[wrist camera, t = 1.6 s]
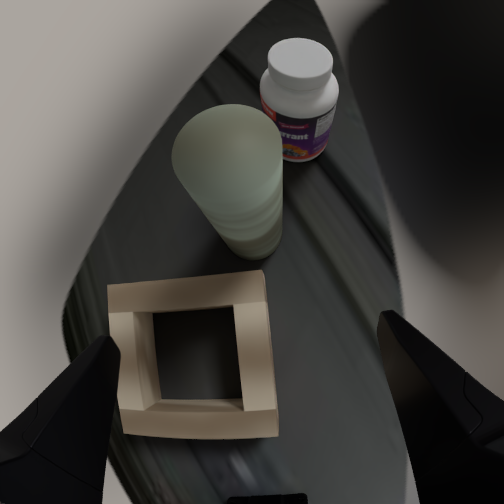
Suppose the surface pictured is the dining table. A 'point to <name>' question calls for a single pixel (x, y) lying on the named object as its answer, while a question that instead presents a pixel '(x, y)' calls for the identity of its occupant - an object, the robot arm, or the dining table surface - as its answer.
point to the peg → (234, 175)
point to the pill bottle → (300, 96)
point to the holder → (145, 362)
